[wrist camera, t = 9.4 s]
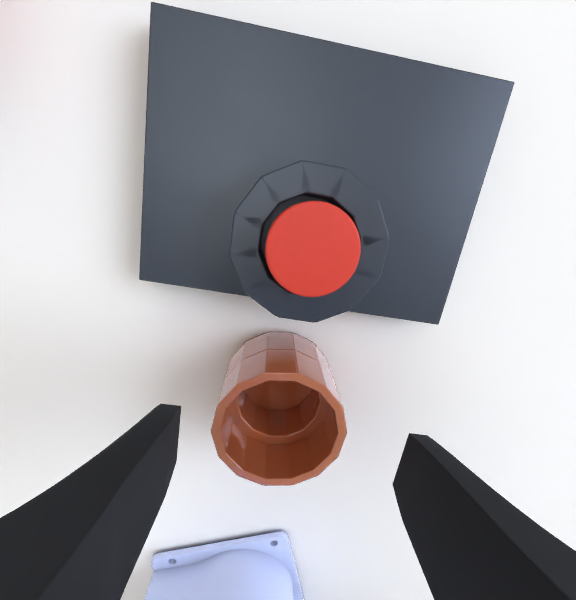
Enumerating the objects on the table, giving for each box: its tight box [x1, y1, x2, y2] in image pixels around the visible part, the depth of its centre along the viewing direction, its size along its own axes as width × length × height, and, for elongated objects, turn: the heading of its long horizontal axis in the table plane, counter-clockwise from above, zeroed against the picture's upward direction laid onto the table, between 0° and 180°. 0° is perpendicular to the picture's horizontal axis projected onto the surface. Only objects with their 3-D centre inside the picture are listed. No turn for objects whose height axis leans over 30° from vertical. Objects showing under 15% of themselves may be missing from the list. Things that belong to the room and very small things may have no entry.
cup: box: [211, 332, 347, 486], centre depth 16 cm, size 6×6×5 cm
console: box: [139, 2, 514, 324], centre depth 14 cm, size 11×15×4 cm
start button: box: [265, 201, 361, 297], centre depth 13 cm, size 4×4×2 cm
